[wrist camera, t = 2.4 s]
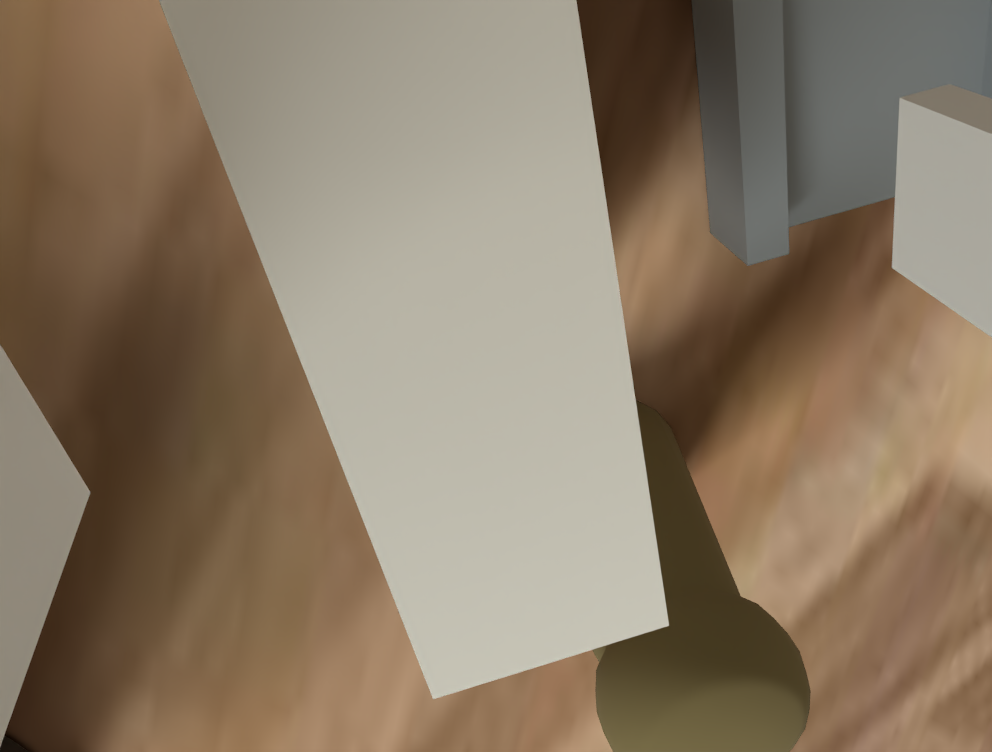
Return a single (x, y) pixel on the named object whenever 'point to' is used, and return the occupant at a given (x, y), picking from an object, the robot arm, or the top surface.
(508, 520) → the clay block
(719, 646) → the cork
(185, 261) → the top surface
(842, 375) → the top surface
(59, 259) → the top surface
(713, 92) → the grey grooved stand
